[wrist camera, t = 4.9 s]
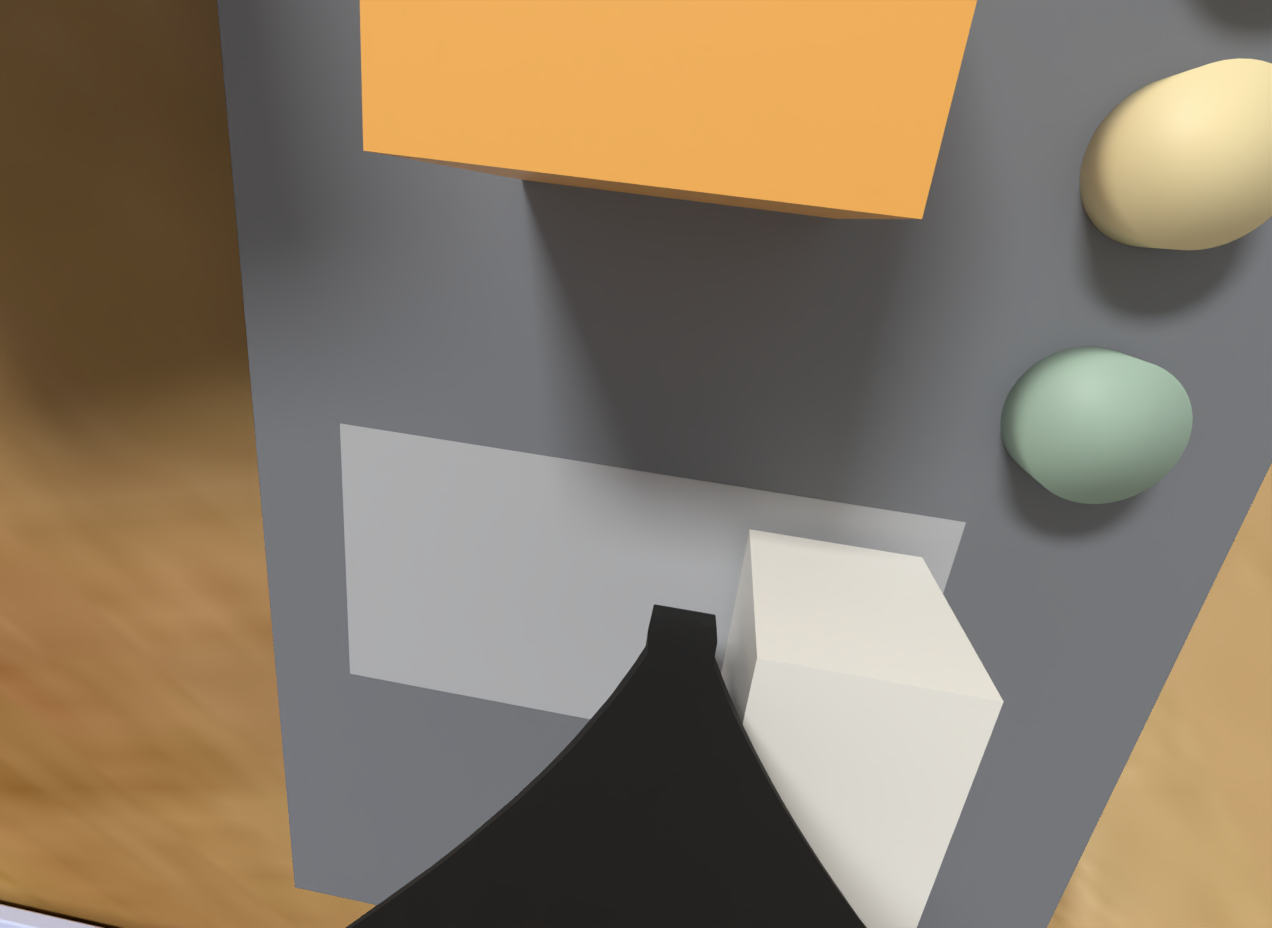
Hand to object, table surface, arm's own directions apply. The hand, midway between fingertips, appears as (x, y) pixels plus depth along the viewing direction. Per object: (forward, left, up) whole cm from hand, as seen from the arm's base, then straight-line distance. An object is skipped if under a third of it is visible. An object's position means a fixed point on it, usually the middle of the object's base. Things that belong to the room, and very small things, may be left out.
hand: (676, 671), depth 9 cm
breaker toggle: (0, -2, -1) cm, 2 cm away
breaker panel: (+2, 0, -3) cm, 4 cm away
